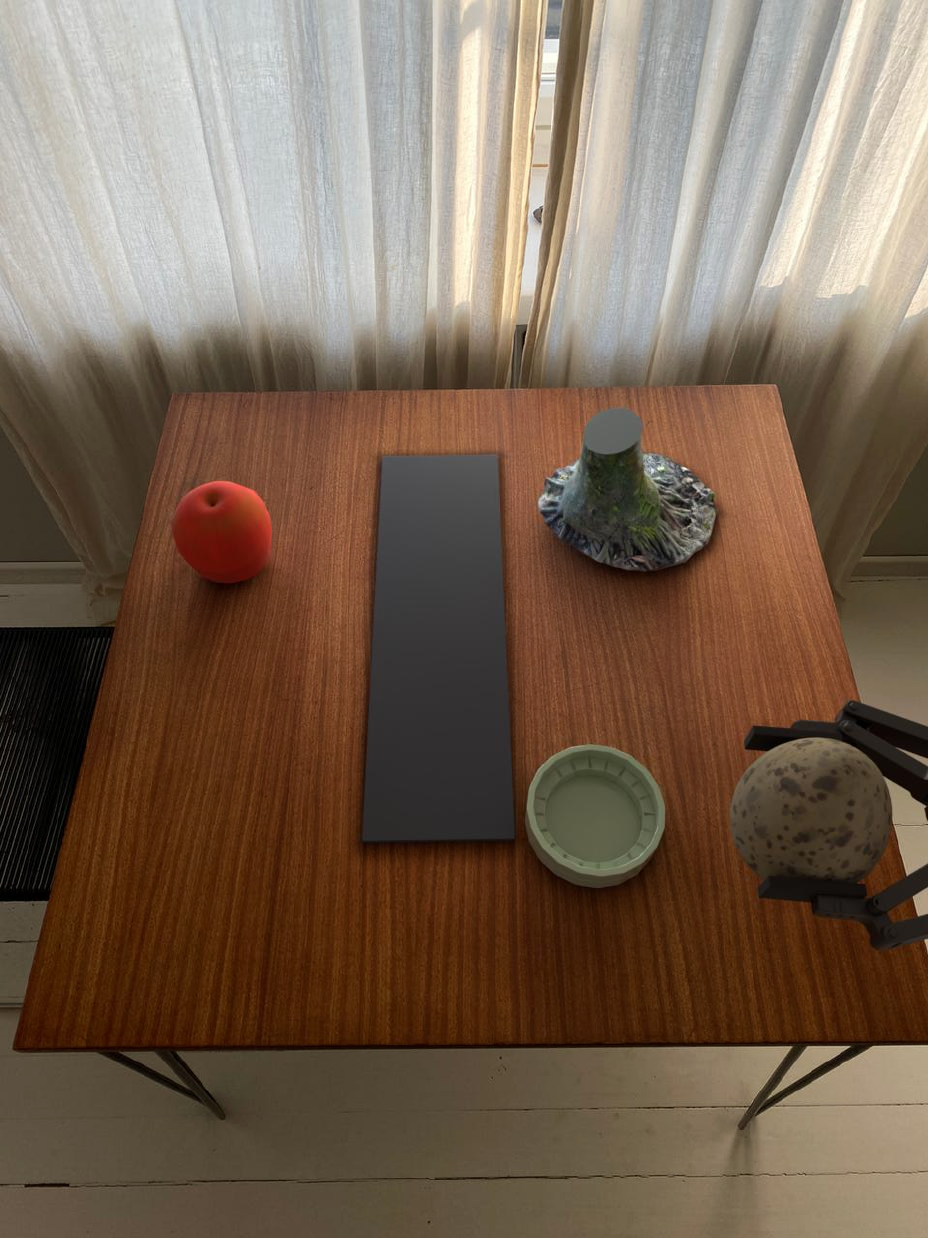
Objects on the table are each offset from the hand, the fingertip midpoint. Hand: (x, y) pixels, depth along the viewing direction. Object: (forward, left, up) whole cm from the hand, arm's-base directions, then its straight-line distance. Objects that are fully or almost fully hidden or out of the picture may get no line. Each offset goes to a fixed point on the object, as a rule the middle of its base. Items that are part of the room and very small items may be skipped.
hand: (755, 808), depth 64 cm
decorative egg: (+3, -3, -8) cm, 9 cm away
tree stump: (+28, +31, -17) cm, 45 cm away
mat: (+2, +36, -17) cm, 40 cm away
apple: (-8, +58, -17) cm, 62 cm away
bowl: (-3, +10, -17) cm, 20 cm away
